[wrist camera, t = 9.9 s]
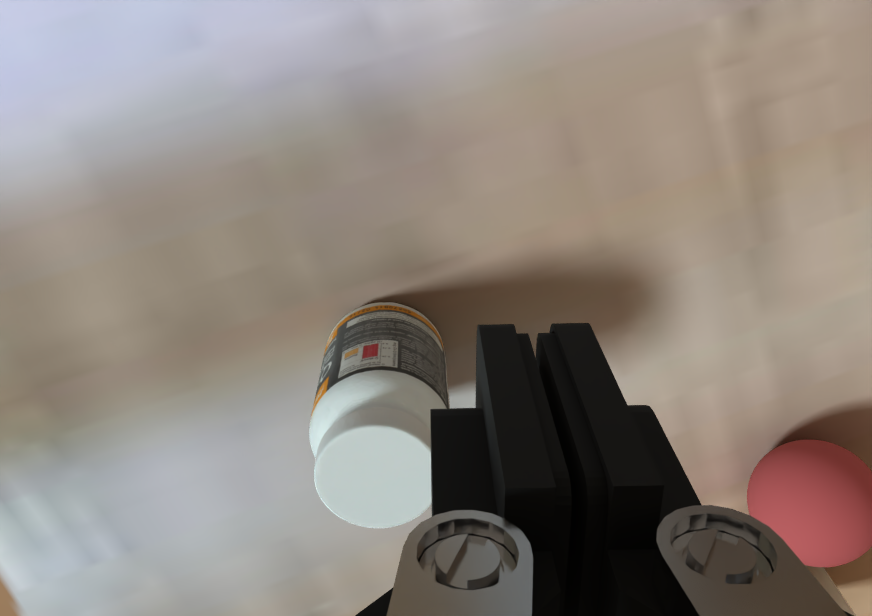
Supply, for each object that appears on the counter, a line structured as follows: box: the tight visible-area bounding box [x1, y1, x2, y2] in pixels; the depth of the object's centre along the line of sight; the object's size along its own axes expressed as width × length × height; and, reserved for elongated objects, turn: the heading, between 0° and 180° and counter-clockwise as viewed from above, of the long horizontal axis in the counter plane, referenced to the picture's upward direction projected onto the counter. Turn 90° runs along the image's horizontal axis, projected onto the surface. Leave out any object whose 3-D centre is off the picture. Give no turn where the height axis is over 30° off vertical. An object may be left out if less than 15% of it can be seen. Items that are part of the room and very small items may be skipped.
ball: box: [747, 440, 872, 567], centre depth 38 cm, size 6×6×6 cm
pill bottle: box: [309, 302, 450, 528], centre depth 33 cm, size 6×6×10 cm
